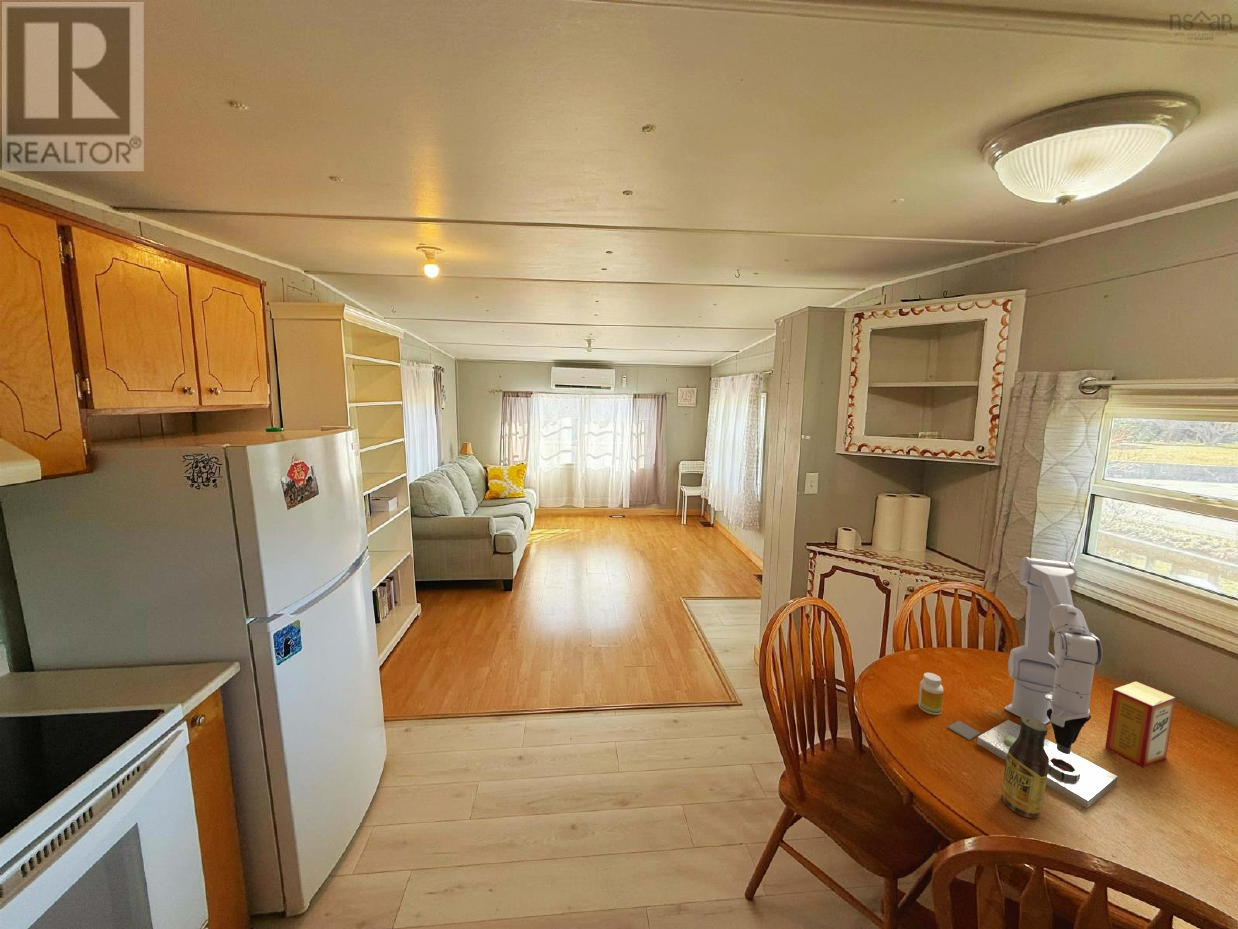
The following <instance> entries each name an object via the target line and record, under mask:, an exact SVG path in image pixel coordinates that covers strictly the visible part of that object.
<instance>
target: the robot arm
mask: <svg viewBox="0 0 1238 929" xmlns="http://www.w3.org/2000/svg"><path fill="white" fill-rule="evenodd" d="M1018 568H1019V569H1018V581H1019V585H1021V586H1024V587H1026V591H1027V600H1026V614H1025V616H1026V617H1025V633H1024V644H1023V645H1019V646H1018V647H1014V648H1011V650H1010V654H1009V658H1008V662H1007V668H1008V669H1007V670H1008V674H1009V676H1010V678H1011V679H1012V680H1014V684H1013V693H1012V701H1011V703H1010V704H1008V705H1006V706H1004V710H1005V711H1007V712H1008V713H1009V712H1010V713H1011V714H1013V715H1015V716H1017V717H1019V718H1020V719H1021V718H1022V717H1031V718H1034V719H1037V720H1039V721H1040V722H1042V723H1044V724H1045V725H1047V724H1049V723H1050V724H1051V727H1052V730H1053V735H1054V740H1055V742H1056V743H1055V744H1056V745H1057V744H1059V745H1061V746H1064V747H1066V748H1068V749H1069V748H1070V746H1071V747H1072V744H1074V743H1075V742H1076V741H1077V739H1078V737H1079V734H1080V732H1081V730H1082V728H1083V727H1084V726H1085V724H1087V722H1089V721H1090V720H1091V719H1092V716H1091V715H1090V714H1091V710H1090V705H1091V704H1090V703H1091V695H1092V689H1093V680H1094V675H1095V674H1094V673H1095V665H1096V666H1100V665H1101V664H1102V661H1103V655H1104V653H1103V647H1102V643H1101V640H1100V638H1099V637H1098V636H1096V635H1095V634H1094V633H1093V632H1091V631H1090V629H1089V626H1088V624H1087V621H1086V618H1085V616H1084V613H1083V612H1082V610H1080V609H1079V608H1077V607H1076V606H1074V601H1073V597H1072V592H1071V589H1073V588H1074V585H1076V582H1077V579H1078V578H1077V576H1078V574H1077V568H1076V566H1075V564H1073V563H1072V562H1070V561H1058V560H1050V559H1043V558H1041V559H1040V558H1034V557H1028V556H1024V557H1023V558H1021V559H1020V562H1019V565H1018ZM1051 625H1052V629H1053V631H1054V639H1053V648H1054V649H1053V650H1054V654H1052V653H1050V652H1049V647H1050V646H1049V645H1050V630H1051Z"/></svg>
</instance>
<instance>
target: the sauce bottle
mask: <svg viewBox="0 0 1238 929" xmlns="http://www.w3.org/2000/svg"><path fill="white" fill-rule="evenodd" d="M1019 726H1021V728H1020V734H1019V737H1018V738H1017V740H1016V741H1015V742H1014V743H1013V745H1012V746H1011V748H1010V749H1009V751H1008V755H1007V761H1005V762H1006V763H1005V769H1004V772H1003V779H1002V780H1003V781H1002V787H1001V798H1002V801H1003V802H1004V805H1006V807H1007V808H1009V809H1010V810H1012V811H1013V812H1015V813H1016V814H1018V815H1019V816H1021V817H1024V818H1029V819H1036V818H1038V817H1039V816H1040V814H1041V812H1042V808H1043V802H1044V797H1045V792H1046V786H1047V785H1046V781H1047V775H1048V766H1049V758H1048V756H1047V754H1046V752H1045V750H1044V740H1045V739H1046V736H1047V735H1048V726H1047V724H1044V723H1042V722H1040V721H1039V720H1037V719H1034V718H1031V717H1022V718H1021V717H1020V721H1019Z"/></svg>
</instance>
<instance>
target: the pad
mask: <svg viewBox="0 0 1238 929" xmlns="http://www.w3.org/2000/svg"><path fill="white" fill-rule="evenodd" d="M1016 740H1017V739H1016V738H1014V737H1013V736H1011V735H1010V736H1008V737H1006V738H1005V743H1006V744H1008V745H1009V746H1012V745H1013V743H1014V742H1015V741H1016Z"/></svg>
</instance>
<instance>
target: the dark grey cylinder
mask: <svg viewBox="0 0 1238 929" xmlns="http://www.w3.org/2000/svg"><path fill="white" fill-rule="evenodd" d="M1056 745H1057V750H1058V751H1060V752H1062V753H1064V754H1070V753H1071V752H1072V749H1071V748H1072V745H1071V746H1070V748H1069V749H1068V748H1066V747H1064V746H1061V745H1059V744H1057V743H1056Z"/></svg>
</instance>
